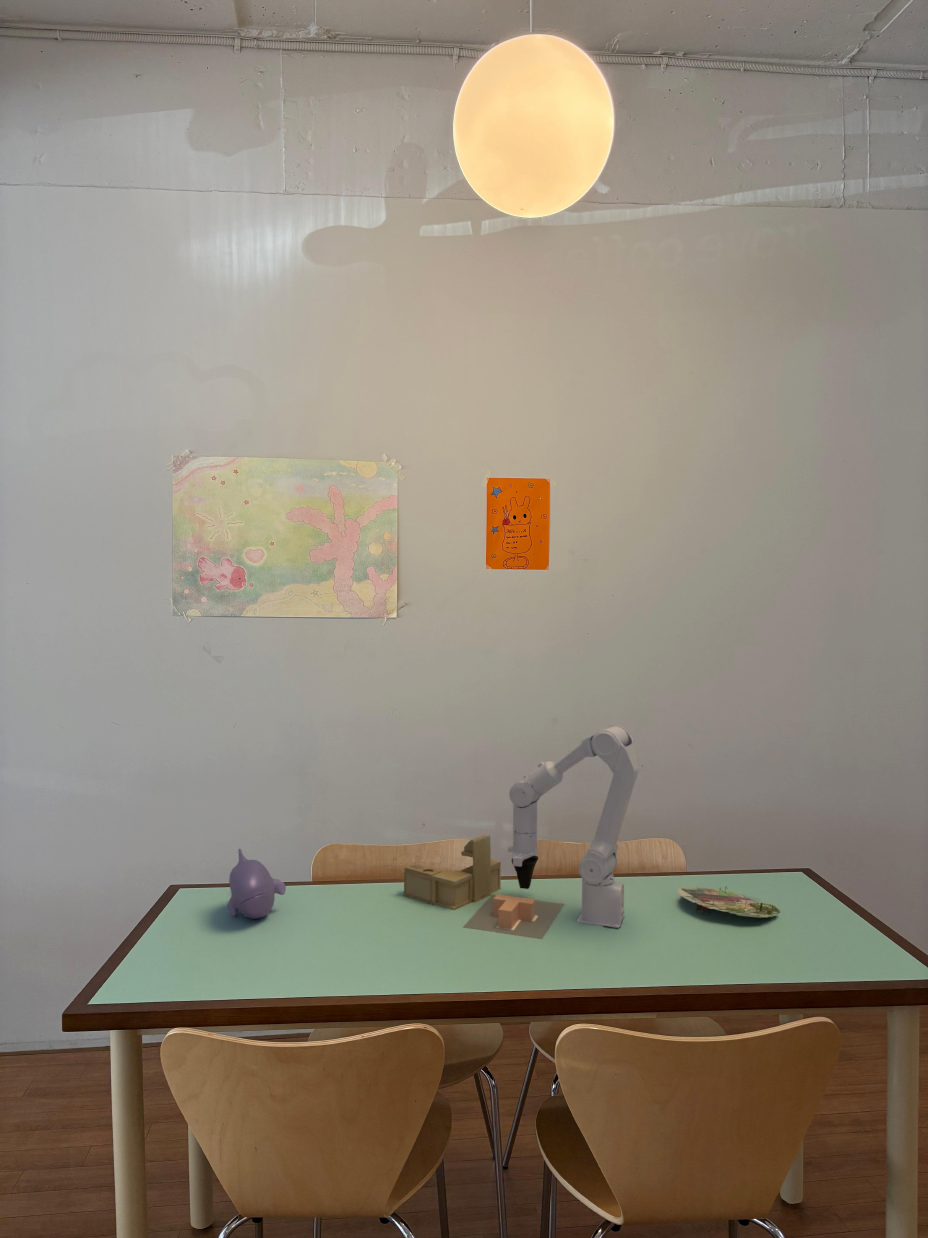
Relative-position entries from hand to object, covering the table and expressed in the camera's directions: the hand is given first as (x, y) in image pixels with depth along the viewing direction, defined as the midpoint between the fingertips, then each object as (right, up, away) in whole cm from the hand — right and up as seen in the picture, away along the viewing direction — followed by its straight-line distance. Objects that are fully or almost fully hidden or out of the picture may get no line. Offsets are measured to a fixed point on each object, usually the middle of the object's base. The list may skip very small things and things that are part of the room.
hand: (524, 887), depth 197 cm
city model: (+48, -5, -1) cm, 49 cm away
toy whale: (-62, -4, -5) cm, 63 cm away
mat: (-3, -4, -7) cm, 9 cm away
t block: (-4, -4, -11) cm, 12 cm away
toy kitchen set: (-17, -4, +8) cm, 19 cm away
